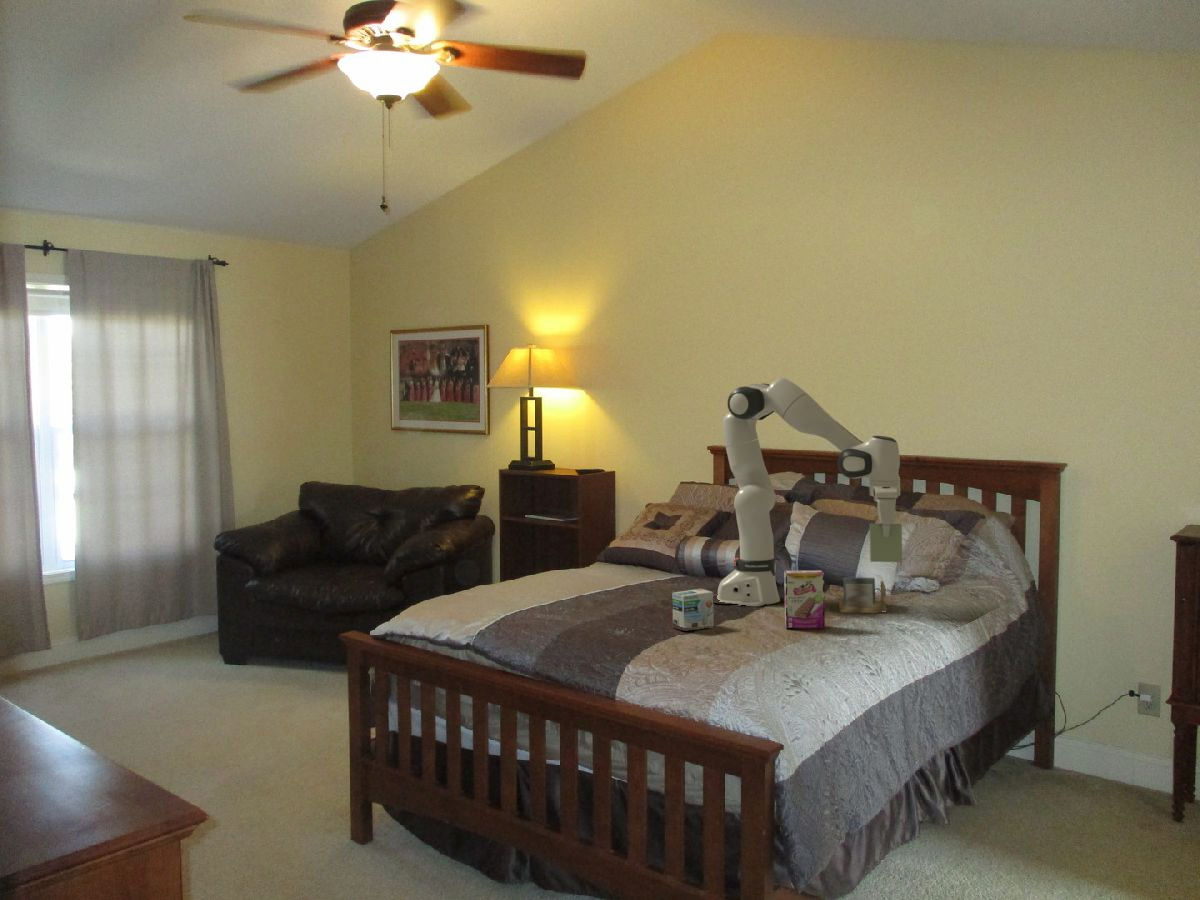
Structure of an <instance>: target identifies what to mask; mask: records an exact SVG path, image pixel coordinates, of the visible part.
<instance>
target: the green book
mask: <svg viewBox="0 0 1200 900" xmlns="http://www.w3.org/2000/svg"><path fill="white" fill-rule="evenodd" d="M902 527H903V526H902V524H901V523H893V524H890V529H889V537H883V527H882V524H881V523H869V558H870V559H869V561H870V562H873V563H877V562H879V563H903V541H902V540H903V537H902V533H903V532H902V531H903V530H902V529H903V528H902Z"/></svg>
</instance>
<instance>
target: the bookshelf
mask: <svg viewBox="0 0 1200 900" xmlns="http://www.w3.org/2000/svg"><path fill="white" fill-rule="evenodd" d="M842 581H843V582H842V583H843V598H841V599H839V598H838V607H839V613H859V614H860V613H861V614H862V613H864V614H870V613H871V614H872V613H873V614H879V613H878V612H882V611H888V609H887V593H886V590H887V589H886V586H885V583H884V580H880V599H876V584H875V583H876V581H875V577H843V579H842Z"/></svg>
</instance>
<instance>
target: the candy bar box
mask: <svg viewBox="0 0 1200 900" xmlns="http://www.w3.org/2000/svg"><path fill="white" fill-rule="evenodd" d="M783 575H784V577H783V581H784V582H783V583H784V585H783V587H784V591H783V592H784V626H785V628H793V629H792V630H825V626H826V624H825V623H826V622H825V619H826V616H825V615H826V614H825V610H826V609H825V608H826V607H825V573H824V571H823V570H784V572H783Z"/></svg>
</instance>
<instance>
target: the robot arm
mask: <svg viewBox="0 0 1200 900" xmlns="http://www.w3.org/2000/svg"><path fill="white" fill-rule="evenodd" d="M727 408H728V411H729V412H728V413H726V414H725V415H723V419H722V433H723V441H724V446H725V450H726V454H727V459H728V464H729V468H730V471H731V472H732V475H733V477H734V479H735V481H736V483H737V484H736V485H737V486H738V489H739V490H738V491H737V492H736V494H735V497H734V500H733V506H734V510H735V515H736V516H735V517H736V523H737V529H738V535H739V536H738V537H739V557H736V558H734V559H733V569H734V570H733V571H731V572H730V573H728V575H726V576H725V577H724V578H723V579H722V580H721V581H720V582H719V583H718V584H719V585H718V588H717V594H718V595H717V594H716V595H717V599H718V600H720V601H719V602H725V603H732V604H738V605H737V606H741V605H746V606H745V607H762V606H764V605H765V604H766V605H772V604H776V603H779V602H780V601H781V598H780V596H779V592H778V591H779V590H778V588H777V583H776V573H777V565H776V564H777V563H776V558H775V556H774V554H775V553H774V552H775V551H774V549H775V547H774V533H773V530H772V524H771V516H770V511H772V509H774V506H775V504H776V499H777V497H776V493H775V490H774V487H773V484H772V481H771V479H770V478H771V477H770V475H769V472H768V469H767V468H766V465H765V461H764V457H763V454H762V450H761V445H760V442H759V436H758V433H757V428H756V427H757V426H756V425H757V422H758V421H763V420H764V419H765V418H767V417H769V416H770V415H773V413H775V414H777V415H778V416H779V417H780V418H781V419H783V421H784V422H786V424H788V425H789V426H790V427H792V428H793V429H794V430H796V431H798V432H799V433H803V434H808V435H813V436H817V437H820V438H822V439H825V440H827V441H828V442H829V443H831V444H832V445H833V446H834V447H836V449H838V450H839V451H840V453H839V455H838V457H837V468H838V470H839V472H840V474H841V475H842V476H844V477H845V478H849V479H853V480H855V479H862V478H868V480H869V496H871V497H873V501H874V502H876V509H877V510H876V514H877V518H878V519H879V521H880V524H882V527H883V537H889V529H890V524H894V522H895V516H896V515H895V514H896V505H897V504H896V502H897V501H896V500H897V499H898V498H899V496H901V478H900V474H899V472H900V471H899V469H900V466H901V461H900V460H901V459H900V449H899V445H898V441H897V440H896V439H895V438H893V437H890V436H887V435H886V436H885V435H873V436H871V437H869V439H867V440H866V441H864V442H863V441H862V440H860V439H859V438H857V437H856V436H855V435H854V434H853V433H851V431H849V430H848V429H846V427H844V426H843V425H842V424H840V423H839V422H838V421H836V419H834V418H833V417H832V416H831V415H830V414H829V413H828V412H827V411H826V410H825V409H824V408H823V407H822V406H821V405H820V404H819V403H818V401H816V400H815V399H814V398H813V397H812V396H811V395H809V394H808V393H807V391H805V390H804V389H802V388H801V387H800V386H799V385H797V384H795V383H794V382H792V381H790V380H789V379H787V378H777V379H775V380H774V381H772V382H770V384H769V383H753V384H749V385H746V386H745V385H744V386H740V387H738V388H735V389H733V390H732V392H730V394H729V395H728V398H727Z"/></svg>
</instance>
